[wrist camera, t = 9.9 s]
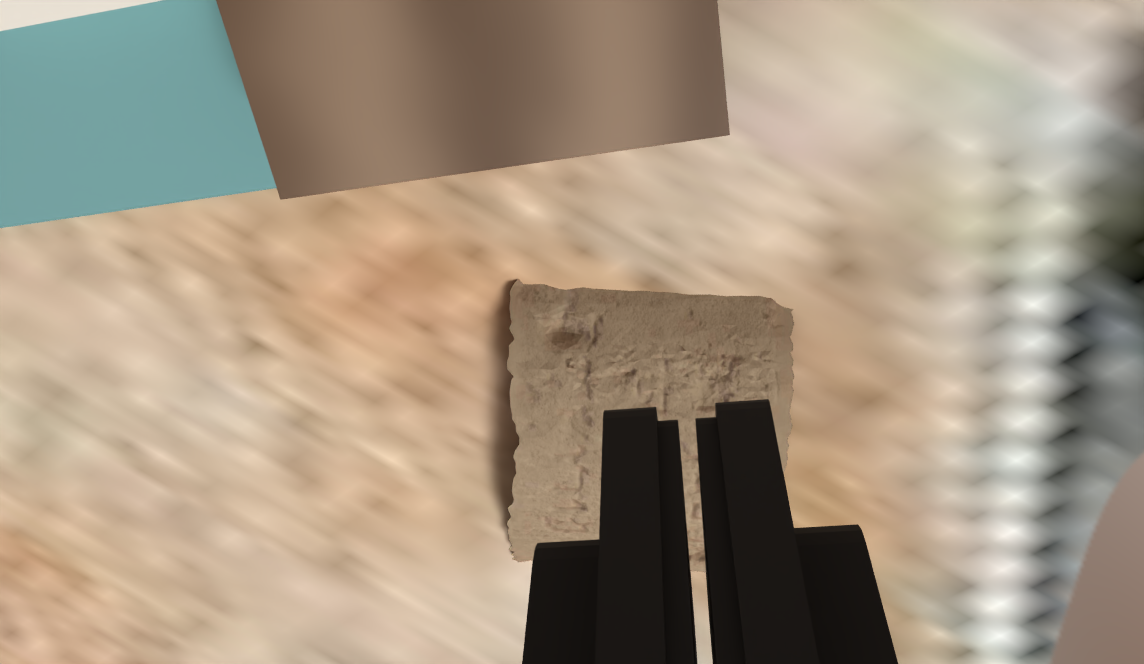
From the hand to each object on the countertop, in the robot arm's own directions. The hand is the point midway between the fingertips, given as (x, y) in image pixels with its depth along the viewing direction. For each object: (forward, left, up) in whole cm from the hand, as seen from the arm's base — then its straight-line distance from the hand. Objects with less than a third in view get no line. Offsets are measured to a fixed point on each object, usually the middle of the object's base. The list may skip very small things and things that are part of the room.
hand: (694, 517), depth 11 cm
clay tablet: (+2, +17, -25) cm, 30 cm away
